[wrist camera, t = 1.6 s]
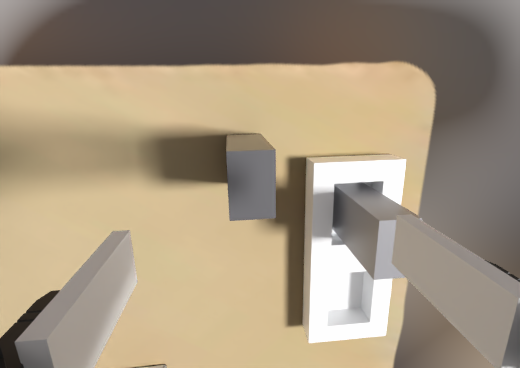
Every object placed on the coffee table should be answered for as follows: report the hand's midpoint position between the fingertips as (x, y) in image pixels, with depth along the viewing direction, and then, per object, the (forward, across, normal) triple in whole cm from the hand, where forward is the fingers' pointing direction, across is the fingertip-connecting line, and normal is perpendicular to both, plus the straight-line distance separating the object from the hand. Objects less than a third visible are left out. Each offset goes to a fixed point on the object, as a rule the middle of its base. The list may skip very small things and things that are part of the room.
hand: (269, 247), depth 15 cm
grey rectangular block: (+23, 0, 0) cm, 23 cm away
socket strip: (+23, +13, -13) cm, 29 cm away
